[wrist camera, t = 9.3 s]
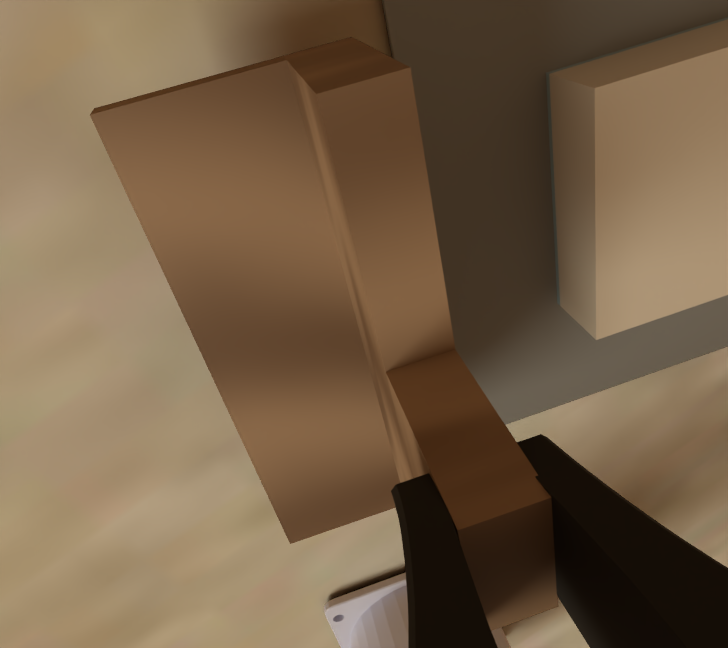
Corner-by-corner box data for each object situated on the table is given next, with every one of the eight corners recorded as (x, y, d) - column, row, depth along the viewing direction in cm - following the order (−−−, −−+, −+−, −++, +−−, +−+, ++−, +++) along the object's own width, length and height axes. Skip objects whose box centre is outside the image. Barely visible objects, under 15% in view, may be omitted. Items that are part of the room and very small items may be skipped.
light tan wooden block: (557, 303, 21) (732, 244, 22) (596, 340, 19) (788, 273, 20) (545, 72, 17) (765, 5, 17) (594, 88, 15) (843, 11, 15)
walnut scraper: (442, 476, 20) (565, 736, 13) (288, 529, 20) (334, 825, 13) (351, 37, 12) (533, 130, 6) (94, 108, 12) (-39, 301, 5)
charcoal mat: (794, 319, 25) (798, 321, 25) (462, 435, 24) (465, 438, 24) (920, -251, 15) (929, -254, 15) (363, -97, 14) (365, -98, 14)
